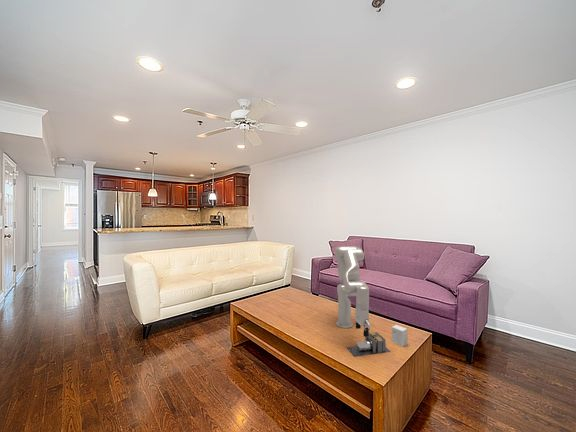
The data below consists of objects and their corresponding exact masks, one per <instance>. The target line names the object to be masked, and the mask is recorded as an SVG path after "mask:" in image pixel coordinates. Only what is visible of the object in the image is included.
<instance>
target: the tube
mask: <svg viewBox="0 0 576 432" xmlns="http://www.w3.org/2000/svg"><path fill="white" fill-rule="evenodd" d="M355 346H356V347H357V349H358V351H362V350H369V349H372V341H371V340H368V341H365V340H361V341H356V343H355ZM385 347H386V348H387V342H386V340H385ZM376 349H377V340H376Z"/></svg>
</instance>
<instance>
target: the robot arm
mask: <svg viewBox="0 0 576 432" xmlns="http://www.w3.org/2000/svg"><path fill="white" fill-rule="evenodd" d="M334 255H335V259H336V263H337V274H338V279H339V281H341V282H342V283H339V284H337V286H336V287H337V288H336V291H337V304H338V305H337V307H338V309H337V321H335V324H336V326H338V327H339V328H342V329H350V328H352V327H353V326H354V323H353V321H352V301H351V299H349V297H356V298H355V299H356V300H355V301H356V303H355V310H354V311H355V312H354V320H355V329H356V330H358V329H361V328H362V327H363V337H364V338H365V337H367V336H369V332H370V329H371V324H370V313H369V312H370V311H369V310H370V287H369V286H368V284H367V283H366V282H365V281H362V280H361V278H360V272H359V270H360V265H359V261H363V260H364V259H365V253H364V251H363V249H362V248H361V247H358V246H356V245H355V246H354V245H351V246H349V245H348V246H346V245H344V246H337V247H335V249H334Z"/></svg>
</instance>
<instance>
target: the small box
mask: <svg viewBox="0 0 576 432" xmlns="http://www.w3.org/2000/svg"><path fill="white" fill-rule="evenodd" d="M391 342H392V343H395V344H396V345H399V346H400V347H405V346H408V328H406V327H404V326H402V325H398V324H395V325H392V326H391Z"/></svg>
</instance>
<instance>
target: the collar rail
mask: <svg viewBox="0 0 576 432" xmlns="http://www.w3.org/2000/svg"><path fill="white" fill-rule="evenodd" d="M364 338H365V339H364V341H368V340H371V341H372V349H369V350H362V351H358V349H357V347H356V345H354V346H348V347H345V349H346V350H348V351H349V353H350V354H351V355H352V356H353V358H357V357H363V356H372V355H378V354H386V353H392V351H391V350H390V349H389V348H388V347H387V346H386V347H385V341H386V338H384V337H383V336H382V335H381V334H379V332H377V331H375V332H374V331H369V336H367V337H364ZM376 340H377V349H376Z"/></svg>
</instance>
